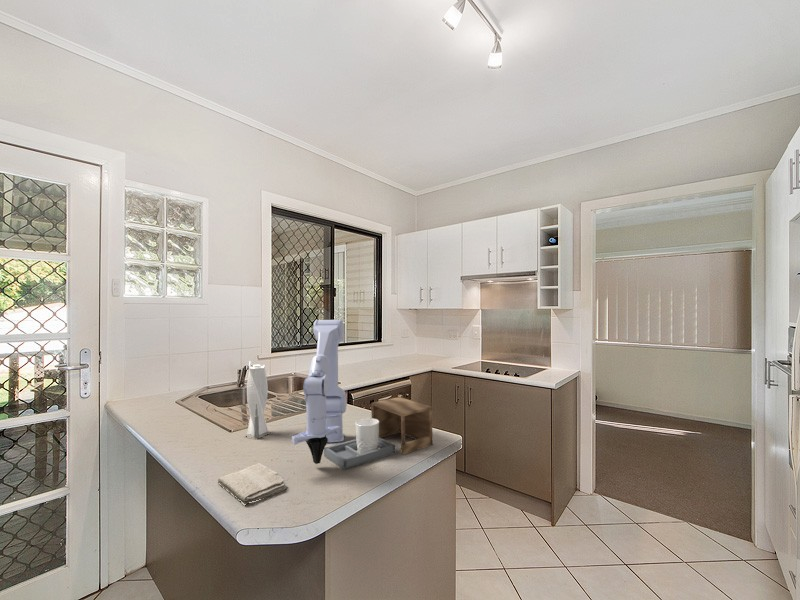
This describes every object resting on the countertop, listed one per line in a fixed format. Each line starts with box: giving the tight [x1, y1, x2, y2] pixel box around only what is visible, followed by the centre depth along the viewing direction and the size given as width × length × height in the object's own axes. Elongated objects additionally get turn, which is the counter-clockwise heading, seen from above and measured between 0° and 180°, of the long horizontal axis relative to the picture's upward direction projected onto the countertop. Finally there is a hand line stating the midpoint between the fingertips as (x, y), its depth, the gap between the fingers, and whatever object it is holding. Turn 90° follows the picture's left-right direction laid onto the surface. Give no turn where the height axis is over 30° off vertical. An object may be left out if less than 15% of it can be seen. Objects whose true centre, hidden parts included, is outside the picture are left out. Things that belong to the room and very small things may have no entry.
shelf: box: [370, 396, 434, 455], centre depth 126 cm, size 13×18×13 cm
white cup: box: [354, 417, 379, 454], centre depth 117 cm, size 8×8×10 cm
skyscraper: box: [245, 360, 272, 440], centre depth 136 cm, size 8×8×28 cm
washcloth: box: [217, 463, 287, 505], centre depth 96 cm, size 12×18×3 cm, turn 48°
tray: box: [323, 437, 396, 471], centre depth 115 cm, size 19×13×3 cm
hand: (316, 462), depth 106 cm, fingers closed
